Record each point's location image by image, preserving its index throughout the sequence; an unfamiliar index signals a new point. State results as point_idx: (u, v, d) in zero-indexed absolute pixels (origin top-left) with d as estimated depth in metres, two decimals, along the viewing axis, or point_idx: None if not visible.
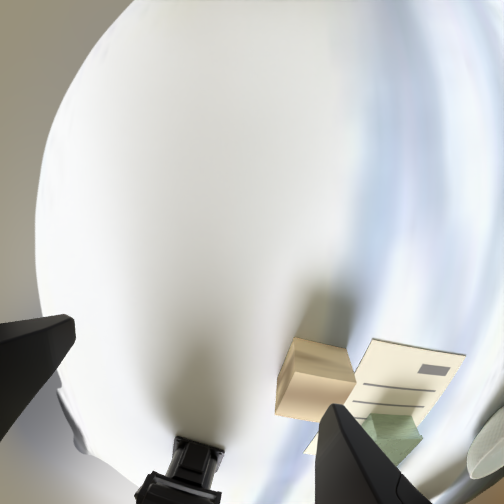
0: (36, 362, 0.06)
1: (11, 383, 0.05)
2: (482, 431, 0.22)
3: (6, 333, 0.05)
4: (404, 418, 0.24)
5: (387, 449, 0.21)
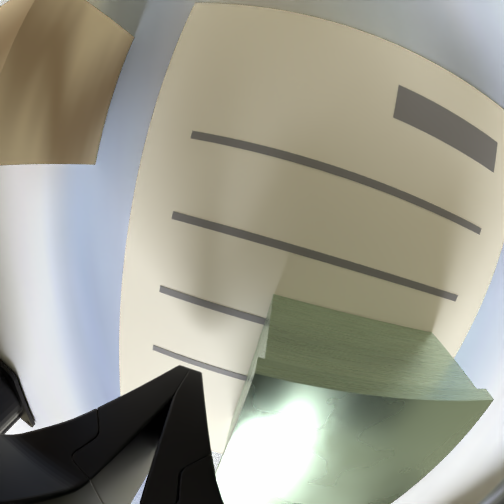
0: None
1: (141, 464, 0.05)
2: None
3: (136, 413, 0.05)
4: (410, 335, 0.08)
5: (339, 450, 0.05)
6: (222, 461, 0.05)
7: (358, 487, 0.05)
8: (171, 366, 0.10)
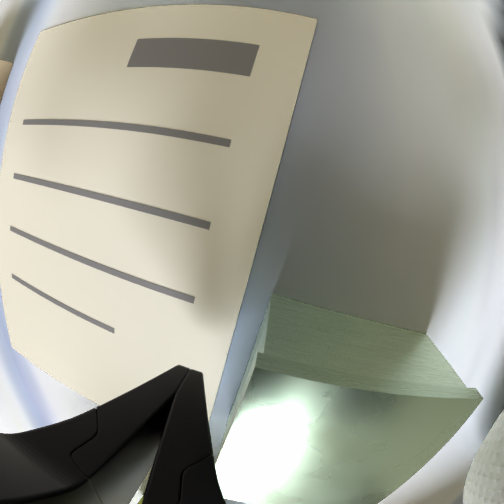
0: (161, 429, 0.06)
1: (139, 463, 0.05)
2: None
3: (135, 412, 0.05)
4: (403, 334, 0.08)
5: (333, 443, 0.05)
6: (221, 453, 0.06)
7: (351, 481, 0.06)
8: (22, 292, 0.10)
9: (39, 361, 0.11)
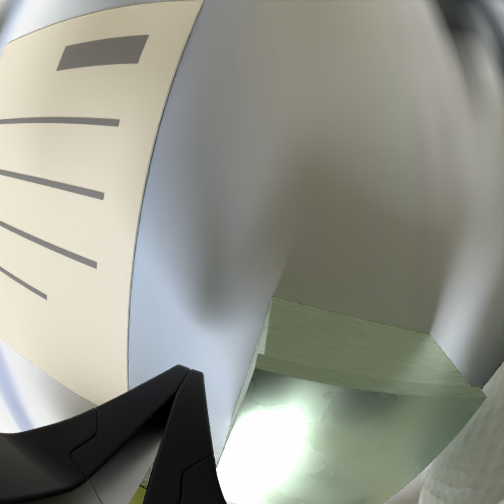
0: (161, 429, 0.06)
1: (139, 463, 0.05)
2: None
3: (134, 412, 0.05)
4: (405, 334, 0.08)
5: (335, 445, 0.05)
6: (223, 455, 0.06)
7: (355, 482, 0.05)
8: None
9: (2, 334, 0.11)
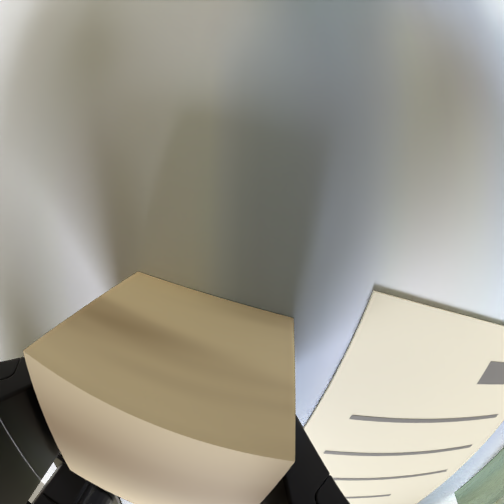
0: None
1: None
2: None
3: None
4: None
5: None
6: None
7: None
8: None
9: None
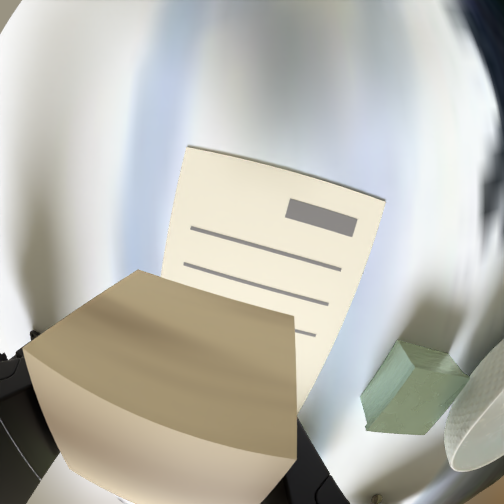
0: None
1: None
2: None
3: None
4: (440, 353, 0.18)
5: (424, 392, 0.15)
6: (389, 402, 0.15)
7: (424, 413, 0.15)
8: None
9: None
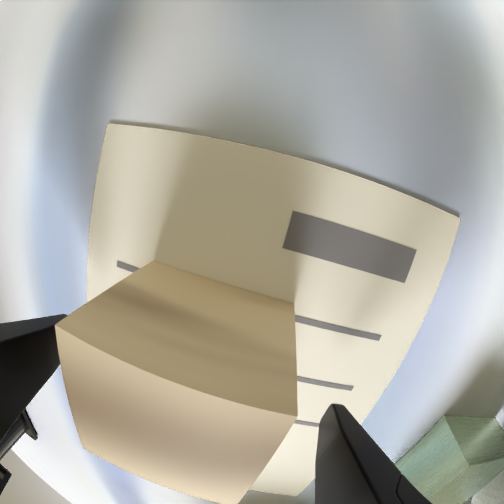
0: (36, 362, 0.06)
1: (11, 383, 0.05)
2: None
3: (6, 333, 0.05)
4: (488, 421, 0.09)
5: (468, 482, 0.06)
6: None
7: (459, 497, 0.07)
8: None
9: None
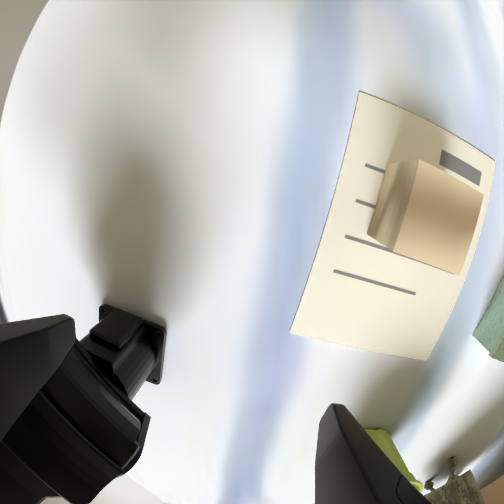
0: (36, 362, 0.06)
1: (11, 383, 0.05)
2: None
3: (6, 333, 0.05)
4: None
5: None
6: None
7: None
8: (340, 282, 0.19)
9: (327, 335, 0.20)
